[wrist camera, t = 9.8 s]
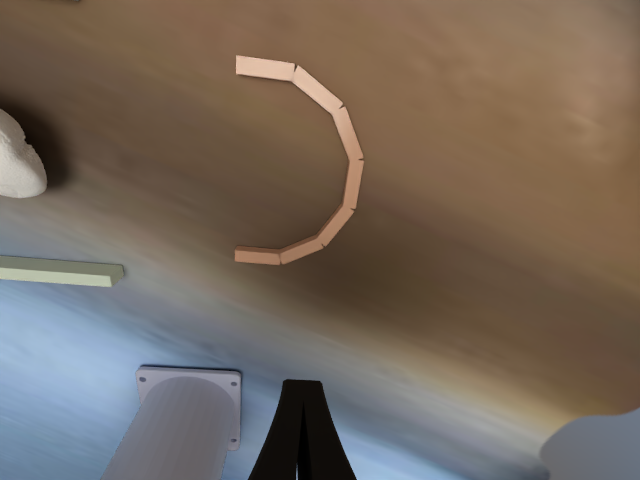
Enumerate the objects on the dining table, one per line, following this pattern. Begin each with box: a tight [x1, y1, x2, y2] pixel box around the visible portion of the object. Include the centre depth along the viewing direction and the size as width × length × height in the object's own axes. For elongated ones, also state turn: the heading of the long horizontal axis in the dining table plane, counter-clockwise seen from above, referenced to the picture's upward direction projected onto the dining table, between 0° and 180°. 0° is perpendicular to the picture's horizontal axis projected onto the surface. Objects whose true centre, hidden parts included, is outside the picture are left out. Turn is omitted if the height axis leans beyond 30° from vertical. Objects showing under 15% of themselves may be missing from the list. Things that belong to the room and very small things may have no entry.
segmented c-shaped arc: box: [235, 55, 364, 265], centre depth 18 cm, size 12×7×1 cm, turn 173°
